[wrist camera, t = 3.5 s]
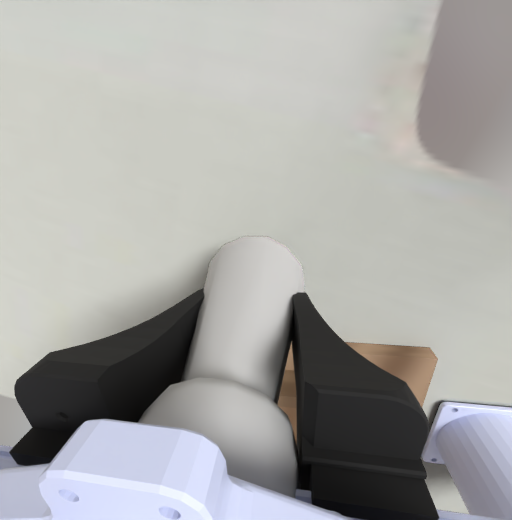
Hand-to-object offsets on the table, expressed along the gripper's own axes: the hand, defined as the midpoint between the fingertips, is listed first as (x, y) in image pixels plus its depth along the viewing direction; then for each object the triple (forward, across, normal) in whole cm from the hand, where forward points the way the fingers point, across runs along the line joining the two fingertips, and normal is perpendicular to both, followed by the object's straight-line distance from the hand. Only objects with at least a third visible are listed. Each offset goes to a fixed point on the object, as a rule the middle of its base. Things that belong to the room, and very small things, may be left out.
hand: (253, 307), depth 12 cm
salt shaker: (+5, 0, 0) cm, 5 cm away
